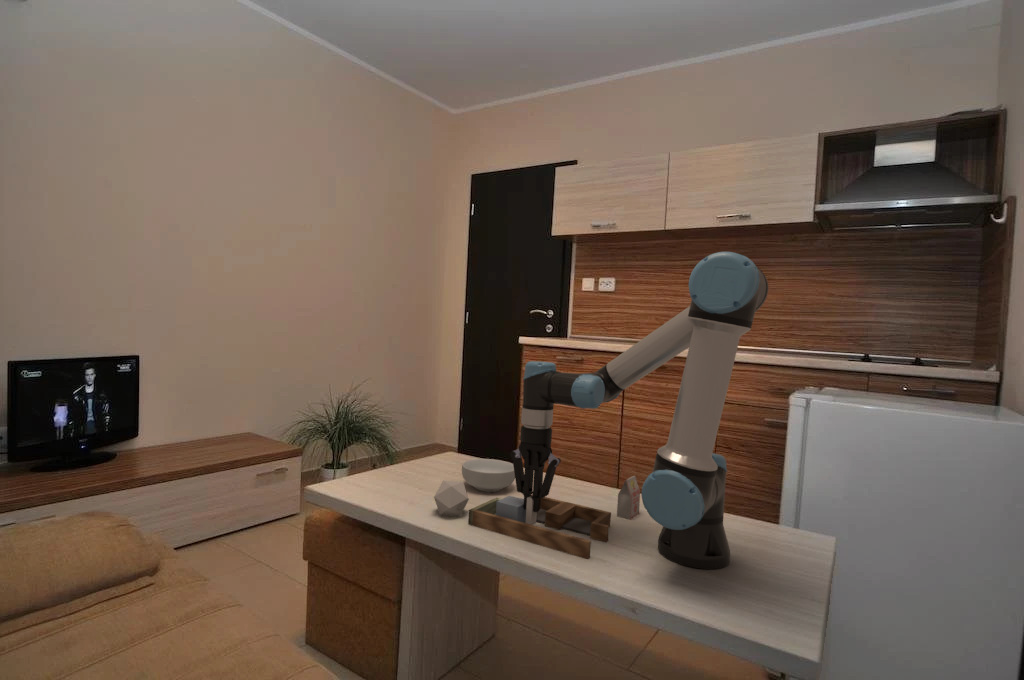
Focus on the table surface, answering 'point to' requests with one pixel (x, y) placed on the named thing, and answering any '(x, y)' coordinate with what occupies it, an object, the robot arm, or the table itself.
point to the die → (451, 498)
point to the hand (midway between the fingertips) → (530, 523)
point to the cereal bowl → (488, 474)
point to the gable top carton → (629, 499)
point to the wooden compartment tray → (549, 525)
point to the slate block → (511, 508)
